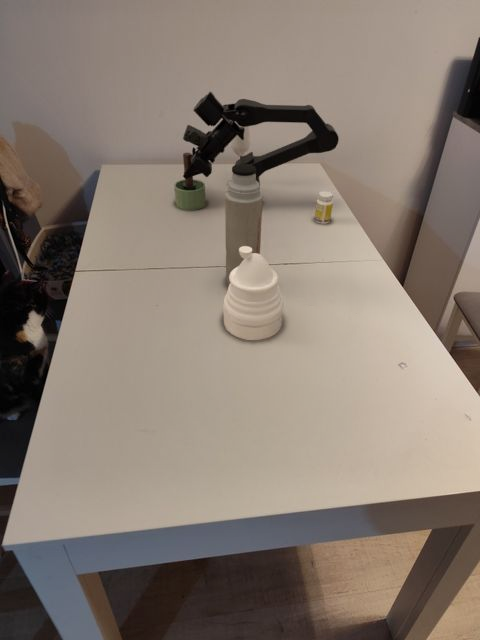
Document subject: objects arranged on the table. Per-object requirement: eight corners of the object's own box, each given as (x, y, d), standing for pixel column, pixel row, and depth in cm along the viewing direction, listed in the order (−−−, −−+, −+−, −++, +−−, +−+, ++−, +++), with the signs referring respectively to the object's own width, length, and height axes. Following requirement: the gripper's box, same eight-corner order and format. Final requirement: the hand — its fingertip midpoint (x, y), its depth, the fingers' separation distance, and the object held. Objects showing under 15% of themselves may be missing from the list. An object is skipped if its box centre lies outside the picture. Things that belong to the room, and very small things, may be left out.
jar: (181, 195, 145) (180, 177, 141) (209, 199, 144) (208, 181, 140) (171, 207, 138) (169, 188, 134) (200, 211, 137) (199, 192, 133)
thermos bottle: (261, 276, 112) (267, 162, 93) (254, 294, 106) (259, 176, 87) (230, 272, 113) (230, 158, 94) (222, 289, 107) (220, 171, 88)
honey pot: (230, 344, 92) (229, 269, 80) (218, 307, 101) (216, 235, 89) (289, 335, 95) (297, 262, 83) (272, 300, 104) (277, 230, 92)
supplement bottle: (329, 217, 138) (334, 191, 132) (330, 224, 134) (334, 197, 129) (314, 216, 138) (317, 189, 133) (314, 223, 135) (317, 196, 129)
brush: (199, 196, 140) (196, 153, 131) (191, 200, 138) (188, 157, 129) (189, 193, 142) (186, 150, 133) (181, 197, 139) (177, 154, 130)
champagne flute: (228, 181, 156) (226, 105, 140) (246, 179, 158) (247, 104, 141) (233, 188, 151) (232, 111, 135) (252, 187, 153) (253, 110, 137)
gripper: (200, 107, 131) (166, 145, 138) (196, 126, 117) (159, 167, 124) (227, 136, 137) (194, 171, 144) (227, 157, 123) (190, 195, 130)
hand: (184, 175), depth 135 cm, fingers closed on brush, 2 cm apart
